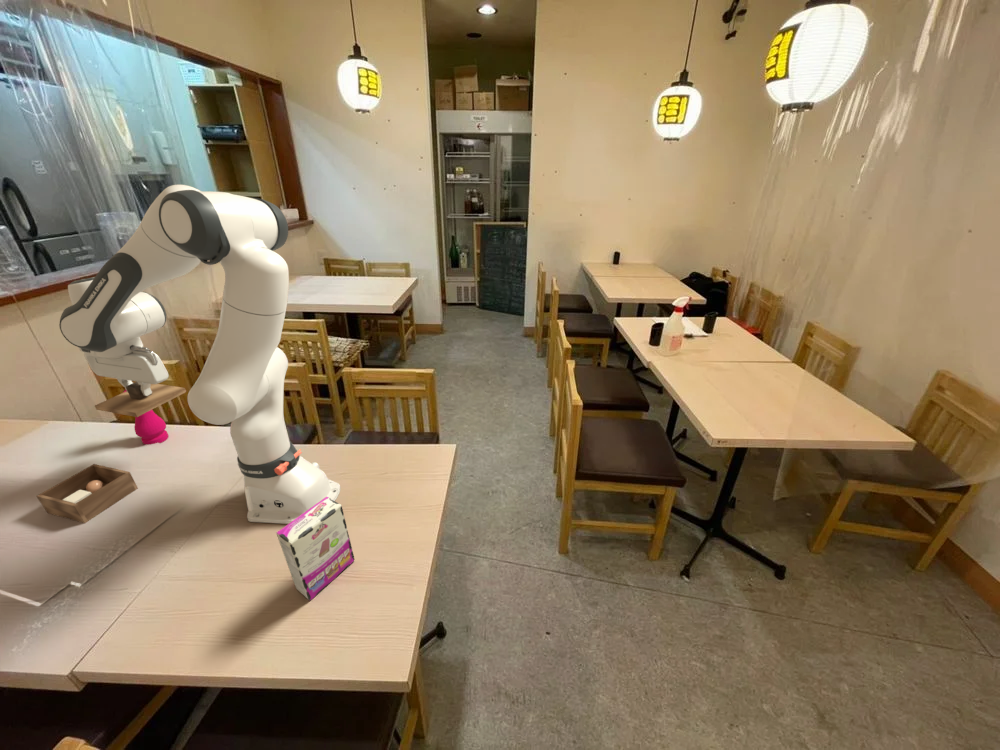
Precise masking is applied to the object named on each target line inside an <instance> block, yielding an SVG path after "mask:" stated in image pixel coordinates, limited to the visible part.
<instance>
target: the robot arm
mask: <svg viewBox="0 0 1000 750" xmlns="http://www.w3.org/2000/svg"><path fill="white" fill-rule="evenodd" d="M288 236H289V226H288V220H287V219H286V216H285V214H284V213H283V211H282V210H281V209H280V208H279V206H277V205H276V204H274V203H272V202H270V201H269V200H265V199H262V198H259V197H248V196H245V195H239V194H235V193H234V194H232V193H230V192H224V191H209V190H208V191H206V190H205V191H204V190H203V191H202V190H200V189H198V188H195V187H193V186H191V185H187V184H172V185H169V186H167V187H165V188H164V189H163V191H161V192H160V193H159V194H158V196H157V197H155V199H154V200H153V202H152V203H151V204H150V206H149V207H148V209H147V210H146V212H145V213H144V216H143V217H142V219H141V222H140V223H139V225H138V227H137V228H136V230H135V232H133V234H132V235H131V236H130V238H129V239H128V240H127V241H126V243H125V244H124V245H123V246H122V247H121V248H120V249H119V250H118V251H116V252H115V254H114V255H112V257H110V258H109V259H108V260H107V262H105V263H104V264H103V266H102V267H101V268H100V269H99V271H98V272H97V273H96V275H95V276H93V277H88V278H83V279H78V280H74V281H72V282H70V283H69V284H68V285H67V290H68V291H67V292H68V295H69V299H70V303H71V305H70V306H67V307H66V308H64V309H63V311H62V313H61V314H60V315H61V316H60V318H59V325H58V326H59V330H60V333H61V334H62V337H63V338H65V340H66V341H67V342H68V343H70V344H71V345H73V346H75V347H77V348H78V350H79V351H80V352H81V353H83V355H84V358H85V360H86V362H87V364H88V366H89V368H90V369H91V371H92V372H93V373H94V374H96V376H100V377H104V378H105V377H106V378H111V379H116V380H117V382H118V383H119V384H120V385H121V386H123V388H124V390H126V391H127V389H126V386H128V385H130V384H132V383H133V382H138V384H139V385H141V389H139V392H140V394H141V395H145V396H148V395H150V394H151V393H152V391H151V388H150V386H151V384H160V383H163V382H165V381H167V380H168V379H169V372H168V370H167V368H166V367H165V365H164V362H163V361H162V359H161V358H160V356H159V355H158V354H157V353H155V352H154V351H152V350H150V348H148V347H146V346H144V343H143V341H142V338H141V337H142V336H145V335H147V334H150V333H152V332H155V331H158V330H160V329H161V328H163V327H164V326H165V325H166V322H167V312H166V309H165V306H164V305H163V304H162V302H161V300H160V299H159V298H158V297H156V296H154V295H153V294H151V293H149V292H146V291H145V290H147V289H149V288H152V287H155V286H157V285H159V284H162V283H165V282H168V281H172V280H174V279H177V278H180V277H183V276H186V275H188V274H189V273H190V272H192V271H193V270H194V269H195V268H197V267H198V266H199V265H200V263H203V264H204V265H207V266H208V265H209V266H211V265H212V266H213V265H217V264H220V266H221V267H222V268H223V271H224V278H225V279H224V284H223V285H224V286H223V291H222V299H221V309H220V313H219V323H218V329H217V332H216V335H215V338H214V341H213V344H212V346H211V348H210V350H209V353H208V356H207V358H206V359H205V360H206V361H205V363H204V365H203V368H202V370H201V372H200V374H199V375H198V378H197V380H196V381H195V383H193V386H192V387H191V388H190V390H189V391H188V394H187V399H186V400H187V403H188V406H189V409H190V411H191V412H192V413H193V415H194V416H196V417H197V418H198V419H200V420H201V421H204V422H206V423H208V424H212V425H216V426H217V425H219V426H220V425H221V426H223V425H227V424H229V423H230V428H229V431H230V432H229V433H230V437H231V441H232V443H233V446H234V449H235V451H236V454H237V458H236V460H237V465H238V468H239V470H240V472H241V475H243V481H244V493H245V494H244V495H245V500H246V508H247V510H248V511H247V515H246V518H247V521H248V522H251V523H269V524H284V525H287V524H289V523H290V522H292V521H293V520H294V519H296V518H297V517H299V516H300V515H301V514H303V513H304V512H306V511H307V510H308V509H310V508H311V507H313V506H314V505H315V504H317V503H318V502H320V501H321V500H322V499H324V498H325V497H326V496H327V497H329V498H331V500H333V501H335V502H336V500H337V498H338V496H339V494H340V492H341V485H340V483H339V482H336V481H334V480H332V479H330V478H328V476H327V474H326V473H325V472H324V470H322V469H321V468H320V465H319V464H318V462H314V461H313V462H312V463H311V462H310V461H309V460H307V459H305V458H304V457H303V456H301V454H302V453H303V452H302V449H301V448H300V449H298V450H297V449H296V447H295V445H294V444H293V442H292V441H291V440H290V438H289V434H288V431H287V430H288V429H287V427H286V422H285V416H284V390H285V389H284V388H285V377H286V374H287V370H288V367H289V360H288V358H287V355H286V353H284V351H283V350H282V349H281V348H279V344H280V342H281V339H282V332H283V330H284V329H283V327H284V323H285V317H286V314H287V313H286V311H287V307H288V300H289V290H290V272H289V265H288V263H287V262H286V260H285V259H284V258H283V256H281V255H280V254H279V253H277V252H275V251H276V250H279V249H280V248H282V247H283V246H284V245H285V244H286V242H287V240H288ZM127 392H128V391H127Z"/></svg>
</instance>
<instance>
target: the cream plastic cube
mask: <svg viewBox="0 0 1000 750" xmlns="http://www.w3.org/2000/svg"><path fill="white" fill-rule="evenodd" d="M90 494H92V493H91V492H88V491H84V490H78V491H76V492H75V493H73V494H71V495H70V496H68V497H66V498H65V499H63V500H64V501H67V502H71V503H75V504H76V503H77V502H79V501H81V500H82V499H84V498H86V497H87V496H89V495H90Z"/></svg>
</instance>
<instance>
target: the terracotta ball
mask: <svg viewBox="0 0 1000 750" xmlns="http://www.w3.org/2000/svg"><path fill="white" fill-rule="evenodd" d="M102 487H104V484H103V482H102V481H100V480H93V481H91V482H89V483H88V484H87V485H86V490H87V491H88V492H91V493H94V492H95V491H97V490H99V489H100V488H102Z"/></svg>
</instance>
